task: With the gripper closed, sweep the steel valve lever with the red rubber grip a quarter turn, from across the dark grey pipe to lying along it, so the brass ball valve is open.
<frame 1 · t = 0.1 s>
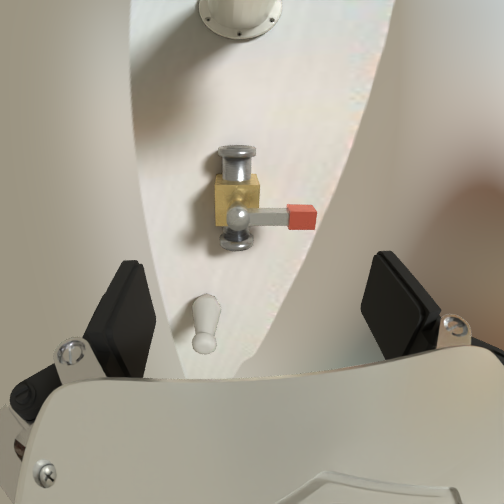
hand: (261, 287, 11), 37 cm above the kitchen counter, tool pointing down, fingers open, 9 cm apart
valve pipe: (236, 192, 47), on the kitchen counter
valve lever: (270, 216, 38), point 10 cm above the kitchen counter, hinge at 90.0°
salt shaker: (207, 300, 58), on the kitchen counter
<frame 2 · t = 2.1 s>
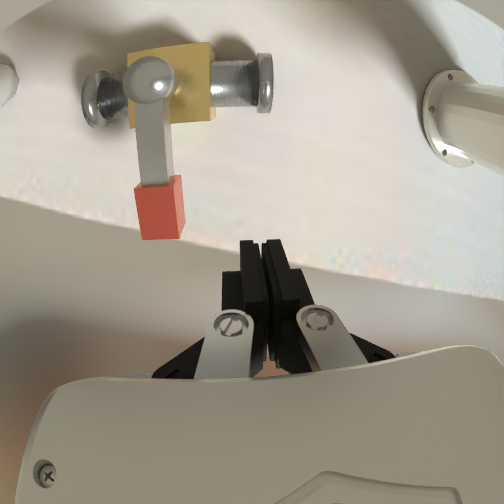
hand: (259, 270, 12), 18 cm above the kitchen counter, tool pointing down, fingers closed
valve pipe: (182, 87, 23), on the kitchen counter
valve lever: (155, 147, 16), point 10 cm above the kitchen counter, hinge at 90.0°
salt shaker: (9, 85, 19), on the kitchen counter
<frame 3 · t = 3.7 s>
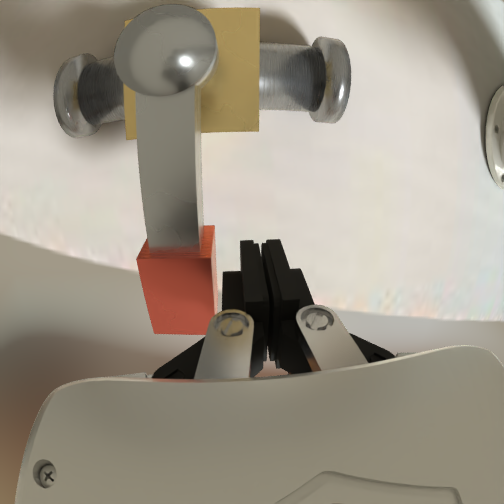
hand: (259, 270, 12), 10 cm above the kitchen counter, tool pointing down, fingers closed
valve pipe: (202, 80, 16), on the kitchen counter
valve lever: (173, 180, 9), point 10 cm above the kitchen counter, hinge at 88.8°, touching gripper
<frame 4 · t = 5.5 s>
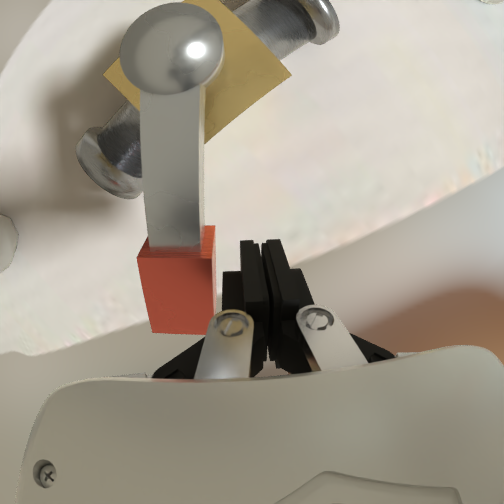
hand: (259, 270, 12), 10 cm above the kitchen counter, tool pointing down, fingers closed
valve pipe: (205, 79, 16), on the kitchen counter
valve lever: (175, 179, 9), point 10 cm above the kitchen counter, hinge at 47.3°, touching gripper
salt shaker: (6, 231, 20), on the kitchen counter
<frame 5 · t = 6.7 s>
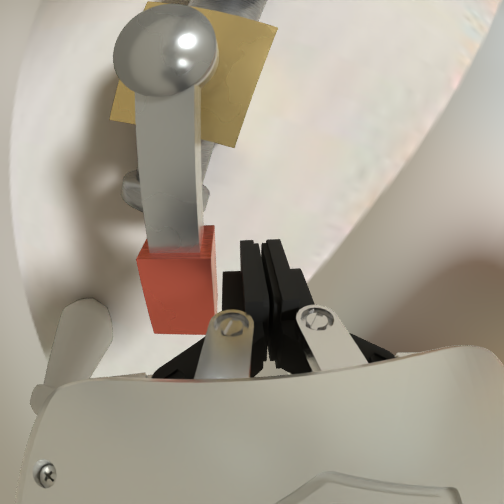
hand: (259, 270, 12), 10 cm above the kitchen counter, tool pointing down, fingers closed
valve pipe: (202, 78, 16), on the kitchen counter
valve lever: (173, 180, 9), point 11 cm above the kitchen counter, hinge at 16.7°, touching gripper
salt shaker: (94, 311, 25), on the kitchen counter
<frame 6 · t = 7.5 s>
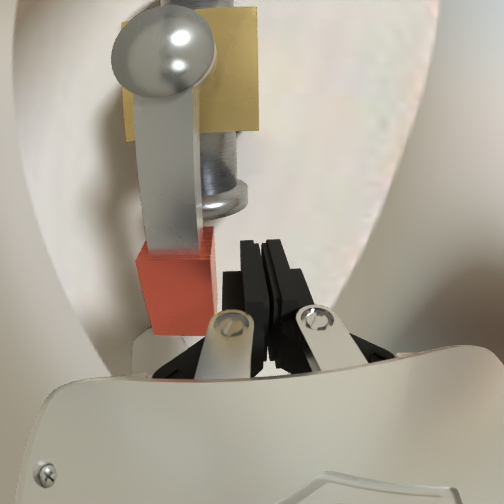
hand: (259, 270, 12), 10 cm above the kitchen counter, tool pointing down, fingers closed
valve pipe: (200, 80, 16), on the kitchen counter
valve lever: (171, 182, 9), point 10 cm above the kitchen counter, hinge at -2.0°, touching gripper
salt shaker: (164, 336, 27), on the kitchen counter
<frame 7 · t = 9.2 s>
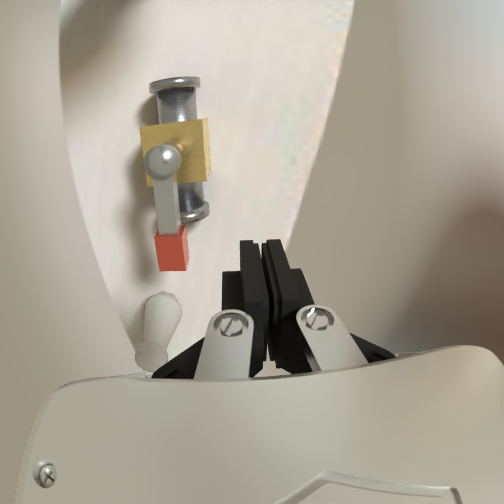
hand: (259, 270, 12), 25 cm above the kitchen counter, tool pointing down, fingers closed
valve pipe: (183, 146, 32), on the kitchen counter
valve lever: (167, 207, 25), point 11 cm above the kitchen counter, hinge at -2.3°
salt shaker: (166, 301, 43), on the kitchen counter
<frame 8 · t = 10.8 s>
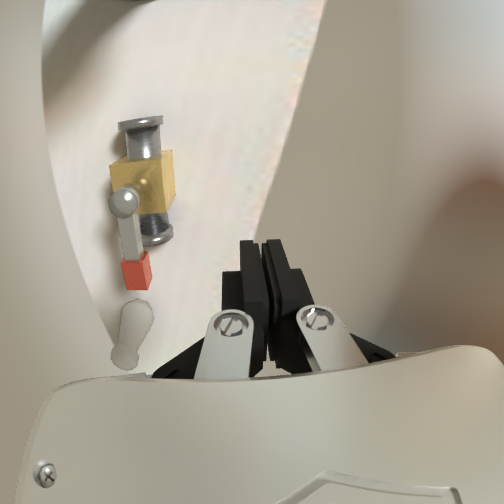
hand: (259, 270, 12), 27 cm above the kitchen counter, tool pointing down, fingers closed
valve pipe: (151, 174, 36), on the kitchen counter
valve lever: (131, 238, 29), point 10 cm above the kitchen counter, hinge at -2.3°
salt shaker: (140, 306, 47), on the kitchen counter
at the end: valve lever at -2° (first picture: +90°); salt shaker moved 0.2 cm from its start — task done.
